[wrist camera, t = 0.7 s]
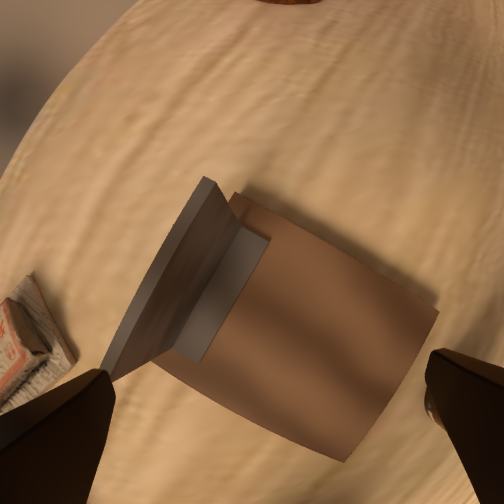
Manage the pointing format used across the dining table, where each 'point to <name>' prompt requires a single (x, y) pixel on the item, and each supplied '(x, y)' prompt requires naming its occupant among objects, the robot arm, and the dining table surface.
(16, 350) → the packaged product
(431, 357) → the robot arm
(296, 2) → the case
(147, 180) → the dining table surface
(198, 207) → the shelf board
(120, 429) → the dining table surface
